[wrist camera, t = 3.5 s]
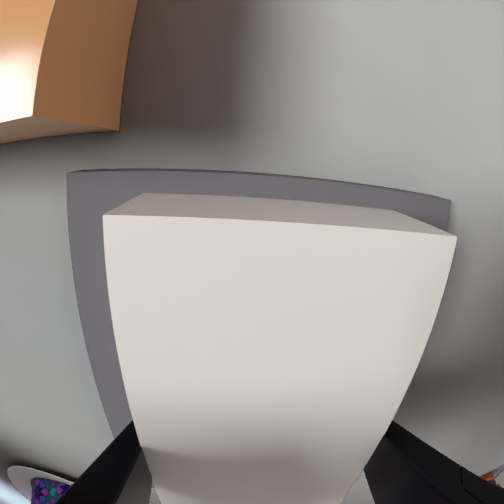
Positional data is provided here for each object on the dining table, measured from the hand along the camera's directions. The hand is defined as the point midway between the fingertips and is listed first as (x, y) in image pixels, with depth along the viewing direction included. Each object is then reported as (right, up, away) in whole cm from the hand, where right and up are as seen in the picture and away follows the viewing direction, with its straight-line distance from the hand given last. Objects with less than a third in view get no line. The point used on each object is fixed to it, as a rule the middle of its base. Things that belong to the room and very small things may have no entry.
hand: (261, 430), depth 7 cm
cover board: (0, 0, +1) cm, 1 cm away
